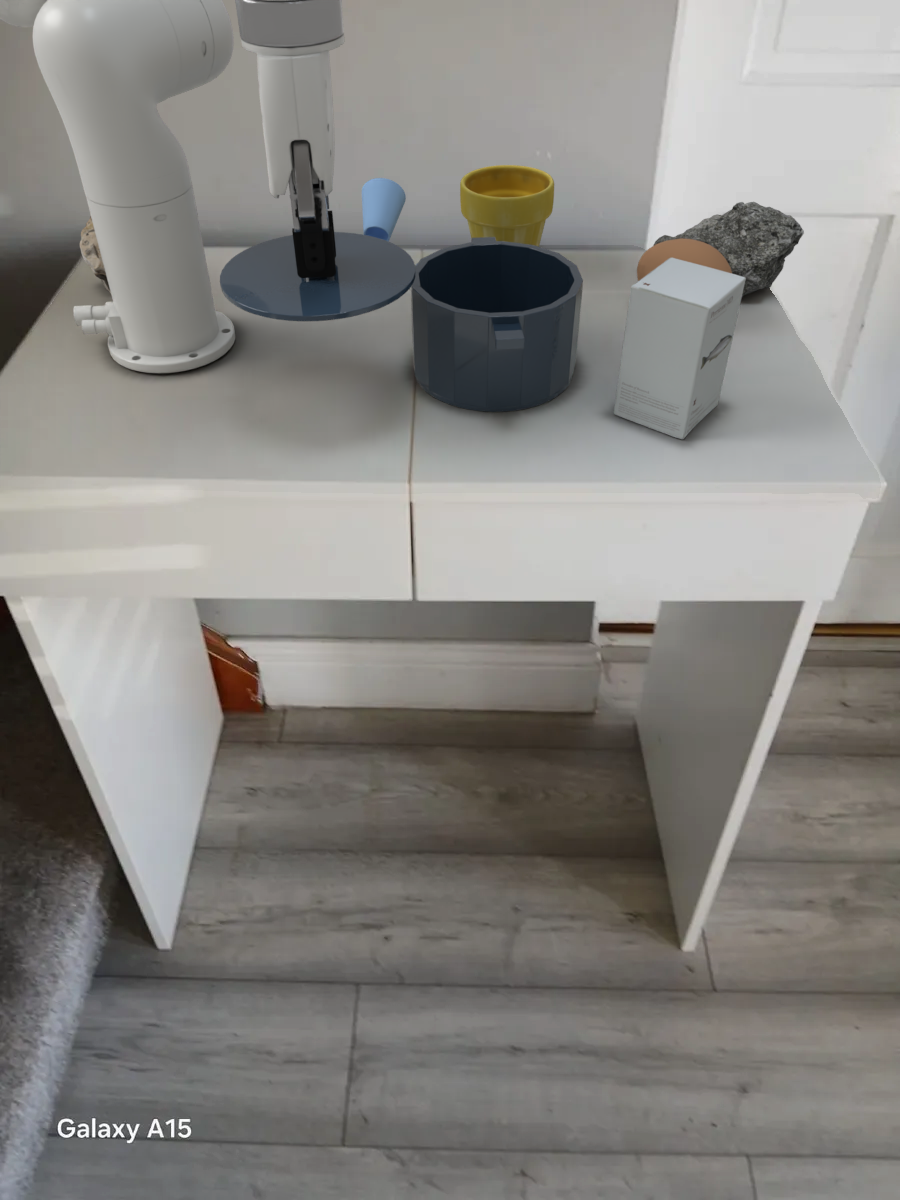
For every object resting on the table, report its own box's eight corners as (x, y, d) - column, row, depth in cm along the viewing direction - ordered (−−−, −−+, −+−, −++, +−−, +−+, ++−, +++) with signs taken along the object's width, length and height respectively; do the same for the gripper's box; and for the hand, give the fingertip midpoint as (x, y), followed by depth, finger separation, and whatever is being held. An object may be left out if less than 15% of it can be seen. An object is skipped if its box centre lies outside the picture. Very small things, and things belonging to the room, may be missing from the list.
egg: (757, 248, 98) (668, 222, 104) (716, 260, 93) (626, 232, 99) (738, 321, 102) (654, 292, 108) (699, 336, 98) (613, 305, 104)
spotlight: (367, 258, 113) (356, 283, 108) (362, 170, 106) (350, 193, 101) (409, 260, 113) (400, 285, 108) (406, 171, 106) (396, 195, 101)
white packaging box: (683, 442, 85) (709, 308, 76) (610, 415, 88) (627, 283, 80) (720, 406, 89) (749, 276, 81) (649, 381, 93) (669, 253, 84)
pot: (420, 432, 86) (417, 335, 80) (408, 322, 102) (405, 233, 95) (592, 423, 87) (603, 327, 81) (554, 315, 103) (561, 227, 96)
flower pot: (446, 256, 114) (446, 170, 107) (526, 242, 116) (531, 158, 110) (480, 292, 107) (481, 203, 100) (564, 277, 109) (571, 189, 103)
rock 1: (137, 242, 113) (64, 210, 105) (181, 224, 109) (109, 189, 101) (140, 315, 113) (67, 289, 104) (184, 299, 109) (112, 271, 100)
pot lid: (212, 333, 76) (196, 252, 72) (230, 247, 88) (217, 173, 84) (421, 323, 77) (419, 242, 73) (410, 239, 89) (407, 165, 85)
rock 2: (635, 257, 107) (663, 270, 116) (720, 329, 104) (742, 337, 112) (715, 152, 101) (738, 175, 110) (807, 226, 98) (823, 243, 107)
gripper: (246, -3, 75) (277, 231, 88) (228, 51, 63) (268, 313, 76) (342, -6, 75) (360, 227, 88) (343, 47, 64) (363, 309, 76)
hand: (317, 265), depth 82 cm, fingers closed on pot lid, 2 cm apart
